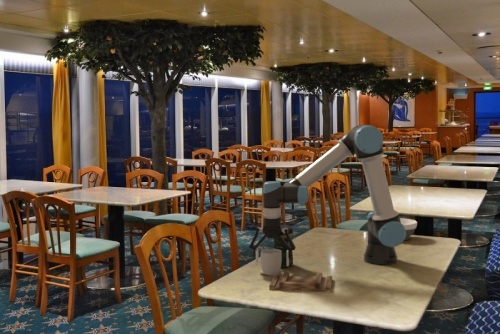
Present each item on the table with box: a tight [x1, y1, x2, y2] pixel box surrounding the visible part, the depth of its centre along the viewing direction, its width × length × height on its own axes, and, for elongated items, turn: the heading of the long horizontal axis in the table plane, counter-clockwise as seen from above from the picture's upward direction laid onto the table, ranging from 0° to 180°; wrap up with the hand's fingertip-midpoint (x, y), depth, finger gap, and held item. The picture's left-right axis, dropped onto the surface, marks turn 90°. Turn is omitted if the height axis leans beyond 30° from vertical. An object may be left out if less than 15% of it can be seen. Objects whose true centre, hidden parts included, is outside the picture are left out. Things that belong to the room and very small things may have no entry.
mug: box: [260, 248, 282, 276], centre depth 242 cm, size 13×9×10 cm
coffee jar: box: [273, 224, 294, 268], centre depth 252 cm, size 10×8×19 cm
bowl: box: [400, 217, 418, 241], centre depth 301 cm, size 20×20×10 cm
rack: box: [268, 271, 333, 292], centre depth 224 cm, size 24×16×3 cm, turn 79°
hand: (272, 264), depth 242 cm, fingers open, 13 cm apart
